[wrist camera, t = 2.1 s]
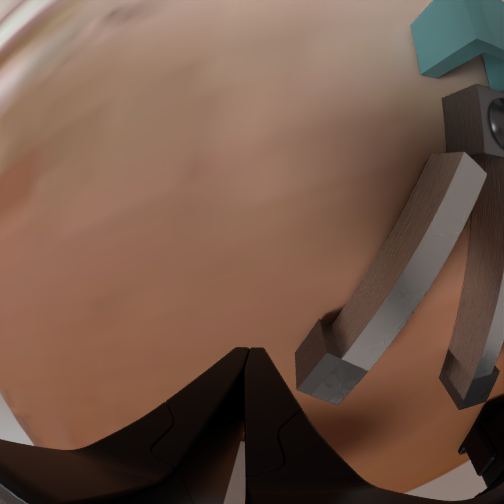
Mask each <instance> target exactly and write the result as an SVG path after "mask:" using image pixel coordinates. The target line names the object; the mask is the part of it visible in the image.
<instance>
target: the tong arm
mask: <svg viewBox="0 0 504 504" xmlns="http://www.w3.org/2000/svg"><path fill="white" fill-rule="evenodd" d="M486 176H487V173H486V172H485V171H484V170H483V169H482V168H481V167H480V166H479V165H478V164H477V163H476V162H475V161H474V160H473V159H472V158H471V157H469V156H468V155H467V154H466V153H465V152H454V153H442V154H432V155H430V157H429V159H428V162H427V164H426V166H425V168H424V170H423V172H422V174H421V176H420V178H419V180H418V182H417V184H416V186H415V188H414V190H413V192H412V194H411V196H410V198H409V200H408V202H407V204H406V206H405V207H404V209H403V211H402V213H401V215H400V217H399V218H398V220H397V222H396V224H395V226H394V227H393V229H392V231H391V233H390V235H389V236H388V238H387V240H386V241H385V243H384V245H383V247H382V248H381V250H380V252H379V253H378V255H377V257H376V258H375V260H374V262H373V263H372V265H371V266H370V268H369V270H368V271H367V273H366V274H365V276H364V278H363V279H362V281H361V282H360V284H359V285H358V287H357V288H356V290H355V291H354V293H353V295H352V296H351V298H350V299H349V301H348V302H347V304H346V305H345V306H344V308H343V309H342V311H341V312H340V314H339V315H338V317H337V318H336V320H335V321H334V322H333V324H332V325H330V324H328V323H326V322H324V321H322V320H320V319H319V320H318V321H317V323H316V324H315V326H314V327H313V328H312V330H311V331H310V333H309V334H308V336H307V337H306V338H305V340H304V341H303V342H302V344H301V345H300V347H299V348H298V349H297V351H296V352H295V364H296V388H297V390H298V391H301V392H303V393H306V394H308V395H311V396H313V397H316V398H319V399H321V400H324V401H327V402H329V403H332V404H335V405H338V404H339V403H340V402H341V401H342V400H343V399H344V398H345V397H346V396H347V395H348V394H349V392H350V391H351V390H352V389H353V388H354V387H355V386H356V385H357V384H358V382H359V381H360V380H361V379H362V378H363V377H364V376H365V374H366V373H367V372H368V371H369V370H370V368H371V367H372V366H373V365H374V364H375V362H376V361H377V360H378V359H379V358H380V356H381V355H382V354H383V352H384V351H385V350H386V349H387V347H388V346H389V345H390V344H391V342H392V341H393V340H394V338H395V337H396V336H397V334H398V333H399V332H400V330H401V329H402V327H403V326H404V325H405V323H406V322H407V320H408V319H409V318H410V316H411V315H412V313H413V312H414V310H415V309H416V307H417V306H418V304H419V303H420V301H421V300H422V298H423V297H424V295H425V294H426V292H427V291H428V289H429V288H430V286H431V284H432V283H433V281H434V280H435V278H436V276H437V275H438V273H439V271H440V270H441V268H442V266H443V264H444V263H445V261H446V259H447V257H448V256H449V254H450V252H451V250H452V248H453V247H454V245H455V243H456V241H457V239H458V237H459V235H460V233H461V231H462V229H463V227H464V225H465V223H466V221H467V219H468V217H469V215H470V213H471V211H472V209H473V206H474V204H475V202H476V200H477V198H478V195H479V193H480V191H481V188H482V186H483V183H484V181H485V179H486Z"/></svg>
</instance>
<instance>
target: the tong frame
mask: <svg viewBox="0 0 504 504" xmlns="http://www.w3.org/2000/svg"><path fill="white" fill-rule="evenodd" d="M442 104H443V112H444V122H445V133H446V149H447V153H454V152H465V153H466V154H467V155H468V156H469V157H471V158H472V159H473V160H474V161H475V162H476V163H477V164H478V165H479V166H480V167H481V168H482V169H483V170H484V171H485V172H486V173H487V176H486V179H485V181H484V183H483V186H482V188H481V191H480V193H479V195H478V198H477V200H476V202H475V204H474V206H473V209H472V220H471V232H470V243H469V251H468V259H467V266H466V273H465V279H464V285H463V290H462V295H461V300H460V305H459V310H458V314H457V318H456V322H455V326H454V330H453V334H452V338H451V341H450V345H449V348H448V352H447V355H446V358H445V361H444V365H443V368H442V371H441V374H440V376H439V379H440V381H441V382H442V384H443V385H444V387H445V388H446V390H447V392H448V393H449V395H450V396H451V398H452V400H453V401H454V403H455V405H456V406H457V408H458V410H461V409H464V408H468V407H471V406H474V405H477V404H480V403H483V402H486V401H487V399H488V397H489V395H490V392H491V390H492V388H493V386H494V384H495V381H496V379H497V377H498V375H499V372H500V371H499V370H498V369H497V368H496V366H495V364H496V361H497V358H498V356H499V353H500V350H501V347H502V344H503V342H504V93H501V92H499V91H496V90H493V89H490V88H487V87H484V86H481V85H478V84H475V85H473V86H470V87H468V88H465V89H463V90H461V91H458V92H456V93H453V94H451V95H449V96H446V97H444V98H442Z"/></svg>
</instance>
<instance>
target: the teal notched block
mask: <svg viewBox="0 0 504 504" xmlns="http://www.w3.org/2000/svg"><path fill="white" fill-rule="evenodd" d="M410 27H411V31H412V35H413V39H414V44H415V48H416V53H417V58H418V63H419V69H420V75H425V76H429V77H434V78H438V77H440V76H442V75H444V74H445V73H447V72H449V71H451V70H452V69H454V68H456V67H458V66H460V65H462V64H463V63H465V62H467V61H469V60H471V59H473V58H474V57H476V56H478V55H480V54H482V55H483V59H484V63H485V67H486V72H487V76H488V81H489V86H490V89H493V90H496V91H499V92H501V93H504V2H503V1H501V0H433V1H432V2H431V3H430V4H429V6H428V7H427V8H426V9H425V10H424V11H423V12H422V13H421V14H420V15H419V16H418V18H417V19H416V20H415V21H414V22H413V23H412V24H411V25H410Z"/></svg>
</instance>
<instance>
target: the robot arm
mask: <svg viewBox="0 0 504 504" xmlns="http://www.w3.org/2000/svg"><path fill="white" fill-rule="evenodd" d="M244 429H245V478H246V480H245V483H246V496H245V504H504V397H502V398H499V399H497V400H494V401H491V402H489V403H487V404H486V405H485V406H484V407H483V408H482V410H481V412H480V414H479V416H478V418H477V420H476V421H475V423H474V425H473V427H472V428H471V430H470V432H469V434H468V435H467V437H466V439H465V440H464V442H463V443H462V445H461V447H460V448H459V450H458V452H459V455H462V454H465V453H467V454H468V456H469V458H470V460H471V462H472V464H473V466H474V468H475V470H476V473H477V475H479V476H481V475H482V477H483V479H484V481H485V484H486V486H487V489H485V490H484V491H483V492H481V493H479V494H478V495H476V496H475V497H474V498H472V499H467V500H462V501H443V500H435V499H429V498H423V497H418V496H413V495H408V494H403V493H398V492H394V491H390V490H386V489H382V488H378V487H376V486H374V485H372V484H370V483H368V482H367V481H365V480H364V479H363V478H361V477H360V476H359V475H358V474H357V473H356V472H355V471H354V470H353V469H352V468H351V467H350V466H349V465H348V464H347V463H346V462H345V461H344V460H343V459H342V458H341V457H340V456H339V455H338V454H337V453H336V452H335V450H334V449H333V448H332V447H331V446H330V445H329V444H328V443H327V442H326V441H325V440H324V438H323V437H322V436H321V435H320V434H319V433H318V431H317V430H316V429H315V427H314V426H313V425H312V423H311V422H310V420H309V419H308V417H307V416H306V414H305V413H304V411H302V408H301V407H300V405H299V403H298V402H297V400H296V399H295V397H294V396H293V394H292V392H291V391H290V389H289V388H288V386H287V384H286V383H285V381H284V380H283V378H282V376H281V375H280V373H279V371H278V370H277V368H276V367H275V365H274V363H273V362H272V360H271V358H270V357H269V355H268V353H267V352H266V350H265V349H264V348H254V347H252V348H250V349H249V348H248V347H236V348H234V349H233V350H232V351H230V352H229V353H228V354H227V355H225V356H224V357H223V358H222V359H220V360H219V361H218V362H217V363H215V364H214V365H213V366H212V367H210V368H209V369H208V370H206V371H205V372H204V373H203V374H201V375H200V376H199V377H197V378H196V379H195V380H193V381H192V382H191V383H189V384H188V385H187V386H186V387H184V388H183V389H182V390H180V391H179V392H178V393H176V394H175V395H173V396H172V397H171V398H169V399H168V400H167V401H166V402H164V403H162V404H161V405H160V406H158V407H157V408H155V409H154V410H152V411H151V412H149V413H148V414H146V415H145V416H143V417H142V418H140V419H139V420H137V421H135V422H133V423H132V424H130V425H128V426H126V427H124V428H123V429H121V430H119V431H117V432H115V433H113V434H111V435H109V436H107V437H105V438H103V439H101V440H99V441H97V442H95V443H93V444H91V445H88V446H86V447H83V448H80V449H75V450H58V449H50V448H43V447H37V446H31V445H25V444H20V443H15V442H10V441H5V440H1V439H0V504H224V500H225V497H226V493H227V490H228V486H229V483H230V479H231V475H232V472H233V468H234V465H235V461H236V457H237V453H238V450H239V446H240V442H241V438H242V435H243V431H244Z"/></svg>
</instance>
